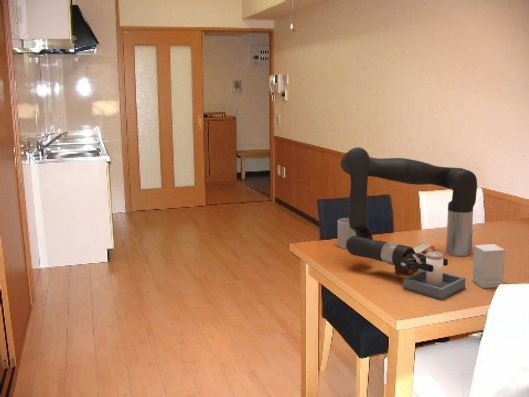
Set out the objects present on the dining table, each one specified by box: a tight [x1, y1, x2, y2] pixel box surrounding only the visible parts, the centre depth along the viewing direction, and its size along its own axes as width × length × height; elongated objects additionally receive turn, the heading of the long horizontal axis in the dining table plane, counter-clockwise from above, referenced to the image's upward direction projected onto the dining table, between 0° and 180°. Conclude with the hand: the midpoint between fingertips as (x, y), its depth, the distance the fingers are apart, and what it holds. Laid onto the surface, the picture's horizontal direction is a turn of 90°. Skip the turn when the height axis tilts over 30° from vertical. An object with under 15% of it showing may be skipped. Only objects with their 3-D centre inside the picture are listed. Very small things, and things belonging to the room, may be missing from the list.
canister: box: [426, 251, 444, 288], centre depth 177 cm, size 5×5×11 cm
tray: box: [402, 270, 466, 301], centre depth 178 cm, size 14×14×4 cm
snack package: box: [394, 242, 436, 276], centre depth 200 cm, size 21×7×7 cm, turn 139°
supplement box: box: [472, 243, 506, 289], centre depth 180 cm, size 7×7×13 cm
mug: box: [336, 217, 356, 250], centre depth 228 cm, size 12×8×11 cm
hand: (440, 265), depth 175 cm, fingers open, 8 cm apart
